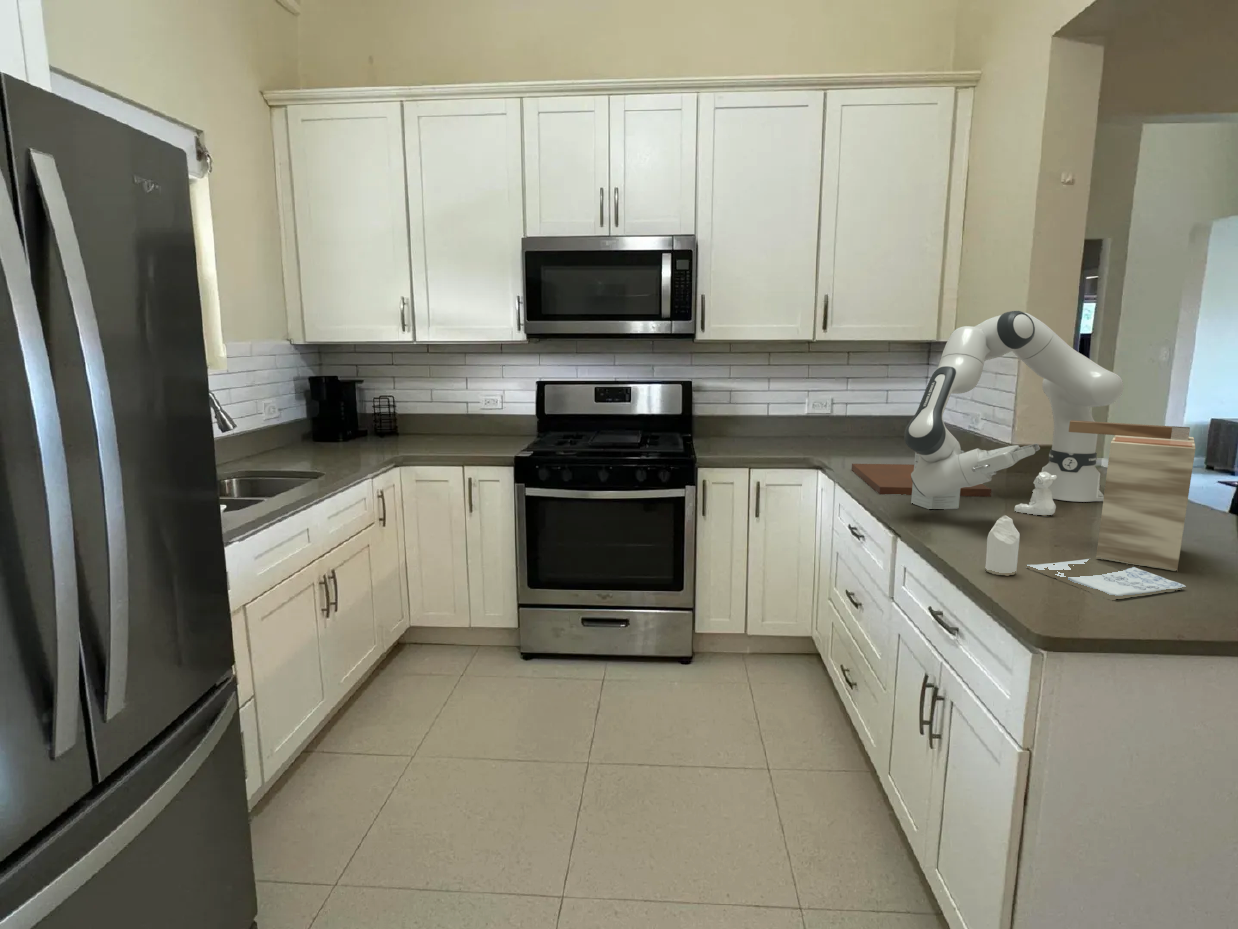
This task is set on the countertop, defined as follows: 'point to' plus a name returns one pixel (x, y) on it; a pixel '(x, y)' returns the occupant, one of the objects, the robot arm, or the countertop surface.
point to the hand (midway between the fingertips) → (1036, 448)
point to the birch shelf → (1146, 500)
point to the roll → (1002, 546)
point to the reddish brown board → (902, 479)
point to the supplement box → (937, 501)
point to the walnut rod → (1130, 430)
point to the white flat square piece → (1116, 580)
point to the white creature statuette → (1040, 497)
